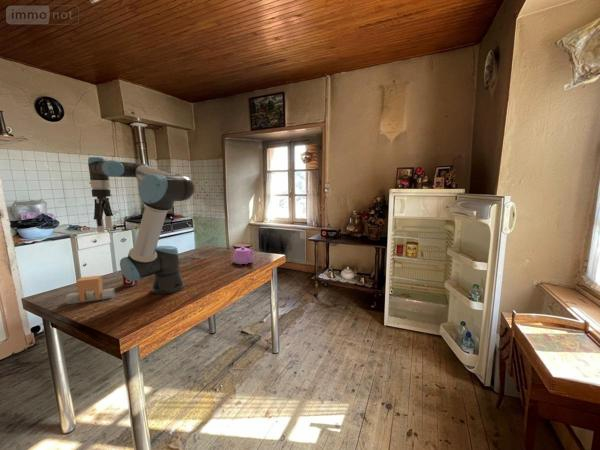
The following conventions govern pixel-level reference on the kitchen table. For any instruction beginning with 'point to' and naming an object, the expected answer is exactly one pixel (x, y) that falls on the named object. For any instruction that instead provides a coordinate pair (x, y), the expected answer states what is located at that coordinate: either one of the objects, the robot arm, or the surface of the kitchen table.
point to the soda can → (128, 281)
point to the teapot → (243, 256)
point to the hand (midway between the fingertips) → (105, 230)
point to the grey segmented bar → (90, 296)
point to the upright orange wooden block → (89, 286)
